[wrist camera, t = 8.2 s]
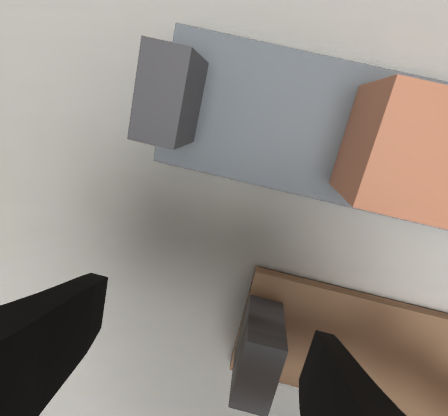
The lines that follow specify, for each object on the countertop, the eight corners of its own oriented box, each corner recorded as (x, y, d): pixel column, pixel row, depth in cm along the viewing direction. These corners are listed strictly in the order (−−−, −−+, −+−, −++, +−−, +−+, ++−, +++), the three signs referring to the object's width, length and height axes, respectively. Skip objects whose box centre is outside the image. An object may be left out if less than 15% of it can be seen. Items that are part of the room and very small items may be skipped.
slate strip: (472, 233, 19) (547, 275, 14) (157, 158, 20) (122, 173, 15) (531, 103, 17) (642, 99, 12) (179, 26, 18) (147, -8, 13)
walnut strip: (505, 432, 22) (576, 525, 17) (230, 360, 23) (222, 429, 18) (557, 340, 20) (656, 415, 15) (256, 266, 21) (254, 314, 16)
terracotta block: (422, 205, 18) (480, 237, 13) (328, 183, 18) (352, 207, 14) (461, 108, 17) (541, 105, 12) (359, 85, 17) (397, 73, 12)
